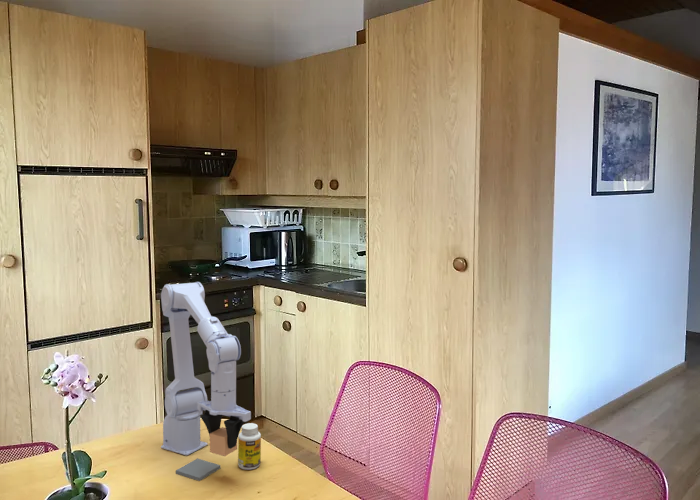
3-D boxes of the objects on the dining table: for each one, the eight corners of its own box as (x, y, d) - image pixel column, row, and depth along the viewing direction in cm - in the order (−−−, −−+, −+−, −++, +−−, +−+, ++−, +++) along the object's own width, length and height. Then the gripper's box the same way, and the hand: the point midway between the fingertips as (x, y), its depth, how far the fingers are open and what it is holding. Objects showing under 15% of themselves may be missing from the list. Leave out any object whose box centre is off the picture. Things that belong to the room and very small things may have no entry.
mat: (175, 473, 139) (175, 470, 139) (197, 461, 145) (197, 458, 145) (199, 481, 135) (199, 477, 135) (220, 468, 142) (220, 465, 142)
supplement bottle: (243, 472, 140) (243, 432, 139) (234, 463, 144) (234, 424, 144) (264, 467, 143) (264, 427, 142) (255, 458, 148) (255, 420, 147)
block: (209, 452, 135) (209, 433, 135) (222, 445, 139) (222, 427, 139) (224, 456, 133) (224, 437, 133) (237, 449, 137) (237, 430, 137)
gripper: (188, 388, 135) (188, 444, 136) (237, 399, 128) (237, 457, 129) (208, 380, 141) (208, 433, 142) (256, 390, 134) (256, 446, 135)
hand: (223, 444), depth 136 cm, fingers closed on block, 4 cm apart
